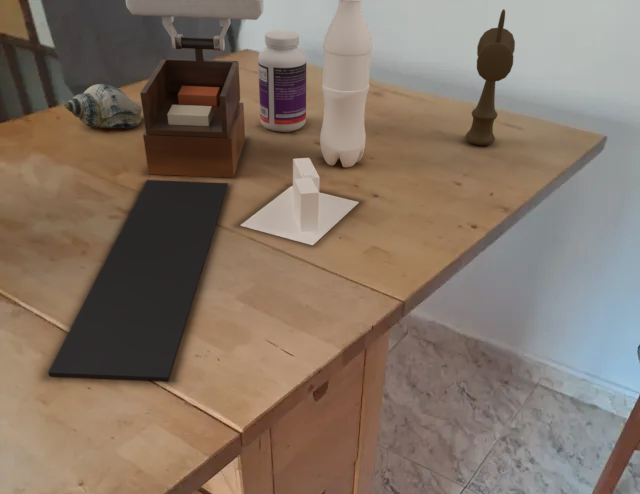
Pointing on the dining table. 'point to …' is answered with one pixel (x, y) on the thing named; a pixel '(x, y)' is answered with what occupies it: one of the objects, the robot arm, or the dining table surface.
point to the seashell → (105, 108)
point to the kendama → (490, 79)
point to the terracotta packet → (199, 95)
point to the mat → (145, 286)
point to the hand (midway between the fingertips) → (199, 49)
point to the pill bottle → (282, 82)
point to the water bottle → (345, 84)
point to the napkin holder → (301, 208)
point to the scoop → (191, 73)
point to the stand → (196, 152)
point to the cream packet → (190, 115)
